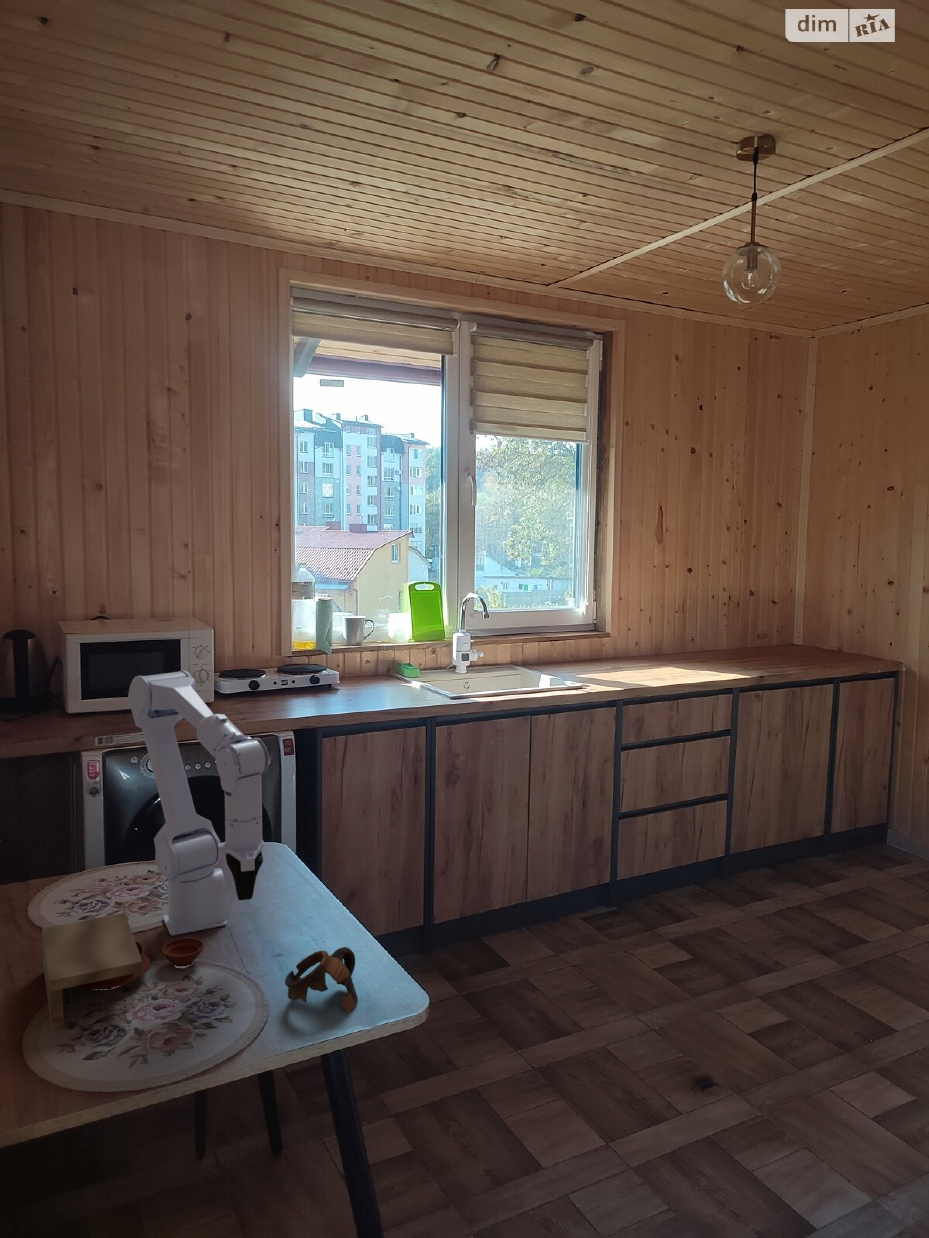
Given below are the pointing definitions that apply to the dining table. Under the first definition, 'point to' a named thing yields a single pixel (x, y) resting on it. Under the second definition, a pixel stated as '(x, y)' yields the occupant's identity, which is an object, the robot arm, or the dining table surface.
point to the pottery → (174, 951)
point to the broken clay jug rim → (317, 976)
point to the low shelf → (86, 957)
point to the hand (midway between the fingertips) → (244, 897)
